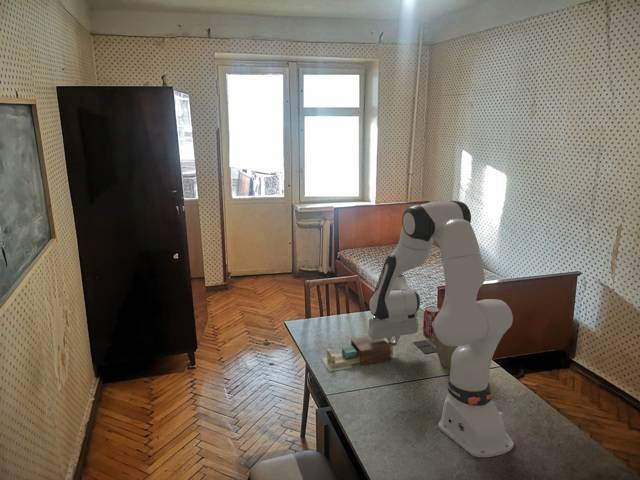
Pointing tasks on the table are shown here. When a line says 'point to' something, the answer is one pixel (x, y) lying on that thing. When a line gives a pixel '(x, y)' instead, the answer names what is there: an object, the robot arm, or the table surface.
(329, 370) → the pad
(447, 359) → the plant pot
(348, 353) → the board
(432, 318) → the soda can
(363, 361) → the tunnel
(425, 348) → the pit pad
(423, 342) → the plate
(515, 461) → the table surface
